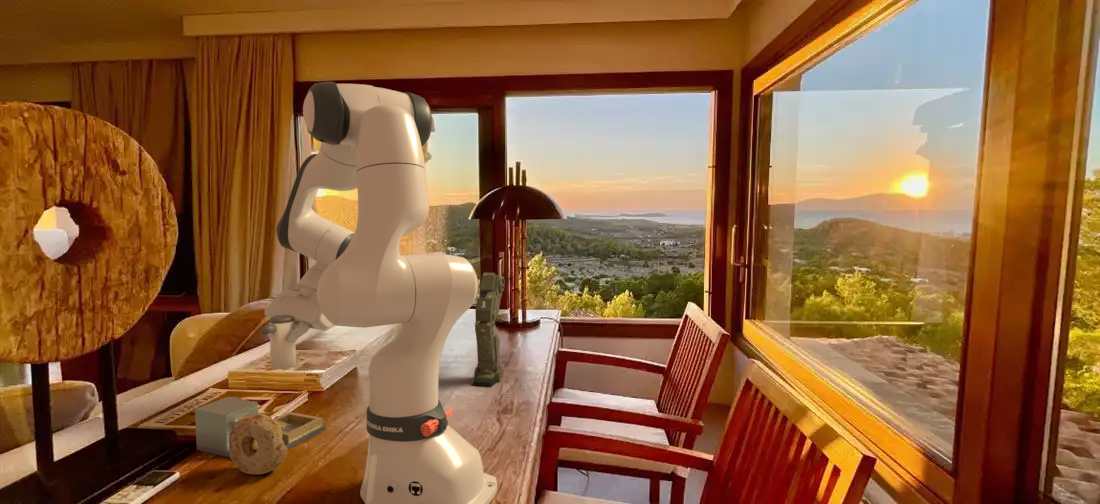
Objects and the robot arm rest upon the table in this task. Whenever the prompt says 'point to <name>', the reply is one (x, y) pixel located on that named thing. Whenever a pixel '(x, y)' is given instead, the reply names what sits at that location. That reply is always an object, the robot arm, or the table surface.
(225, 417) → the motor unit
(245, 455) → the stone disc
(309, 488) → the table surface
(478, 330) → the mechanical leg
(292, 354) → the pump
